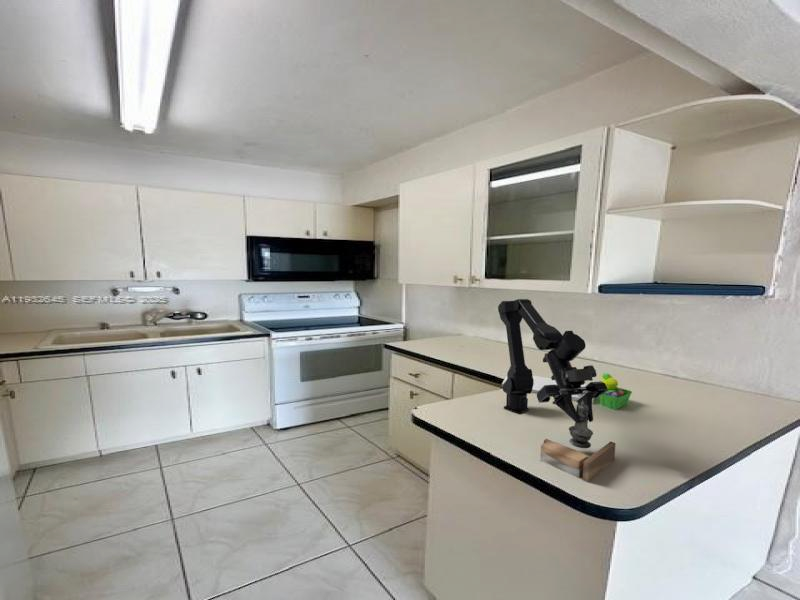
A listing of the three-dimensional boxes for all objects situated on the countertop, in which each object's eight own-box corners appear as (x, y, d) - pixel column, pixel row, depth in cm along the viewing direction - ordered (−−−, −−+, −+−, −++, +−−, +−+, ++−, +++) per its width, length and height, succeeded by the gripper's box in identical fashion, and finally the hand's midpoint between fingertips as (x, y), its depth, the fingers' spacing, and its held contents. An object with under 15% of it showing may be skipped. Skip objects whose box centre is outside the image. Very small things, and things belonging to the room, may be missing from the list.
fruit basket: (617, 411, 133) (619, 381, 131) (592, 404, 140) (594, 374, 139) (632, 404, 139) (634, 375, 138) (607, 397, 146) (609, 369, 145)
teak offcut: (540, 452, 98) (540, 445, 98) (549, 447, 100) (549, 440, 100) (578, 469, 90) (578, 461, 90) (586, 464, 92) (587, 456, 92)
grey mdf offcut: (540, 460, 98) (540, 452, 98) (548, 454, 100) (548, 447, 100) (578, 477, 90) (579, 469, 90) (586, 471, 93) (586, 463, 92)
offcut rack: (534, 463, 99) (535, 441, 98) (563, 444, 109) (564, 425, 108) (587, 487, 89) (588, 463, 88) (613, 464, 98) (615, 443, 98)
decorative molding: (592, 411, 141) (595, 396, 148) (593, 400, 139) (596, 386, 147) (502, 393, 159) (509, 380, 166) (501, 383, 157) (508, 371, 165)
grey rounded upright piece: (571, 447, 99) (574, 403, 97) (565, 437, 104) (568, 395, 103) (595, 449, 98) (598, 405, 96) (588, 439, 103) (591, 397, 102)
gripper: (544, 356, 100) (568, 413, 91) (605, 353, 104) (634, 407, 95) (527, 375, 109) (547, 429, 99) (584, 372, 113) (608, 423, 103)
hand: (585, 422), depth 99 cm, fingers closed on grey rounded upright piece, 3 cm apart
